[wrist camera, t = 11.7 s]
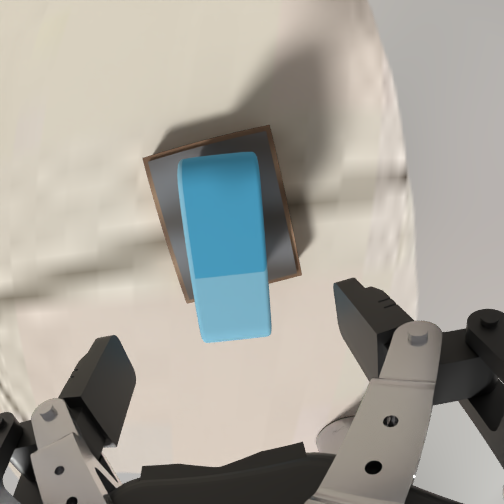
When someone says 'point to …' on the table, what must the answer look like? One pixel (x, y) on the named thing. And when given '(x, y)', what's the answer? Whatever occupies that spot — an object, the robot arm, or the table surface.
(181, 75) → the table surface
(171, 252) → the stand
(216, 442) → the table surface
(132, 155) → the table surface
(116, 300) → the table surface
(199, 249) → the blue rectangular block
